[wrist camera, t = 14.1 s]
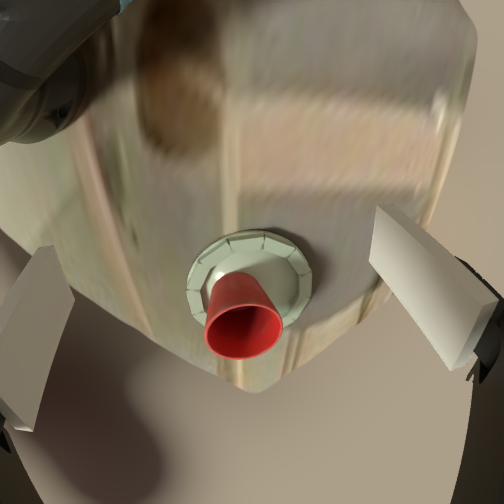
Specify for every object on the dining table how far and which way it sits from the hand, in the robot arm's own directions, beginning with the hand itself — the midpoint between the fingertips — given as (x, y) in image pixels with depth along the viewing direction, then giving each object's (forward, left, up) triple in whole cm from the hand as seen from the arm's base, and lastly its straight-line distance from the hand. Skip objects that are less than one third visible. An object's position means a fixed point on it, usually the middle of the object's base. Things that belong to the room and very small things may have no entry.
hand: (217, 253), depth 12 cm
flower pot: (+2, -25, -31) cm, 40 cm away
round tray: (+4, -25, -31) cm, 40 cm away
